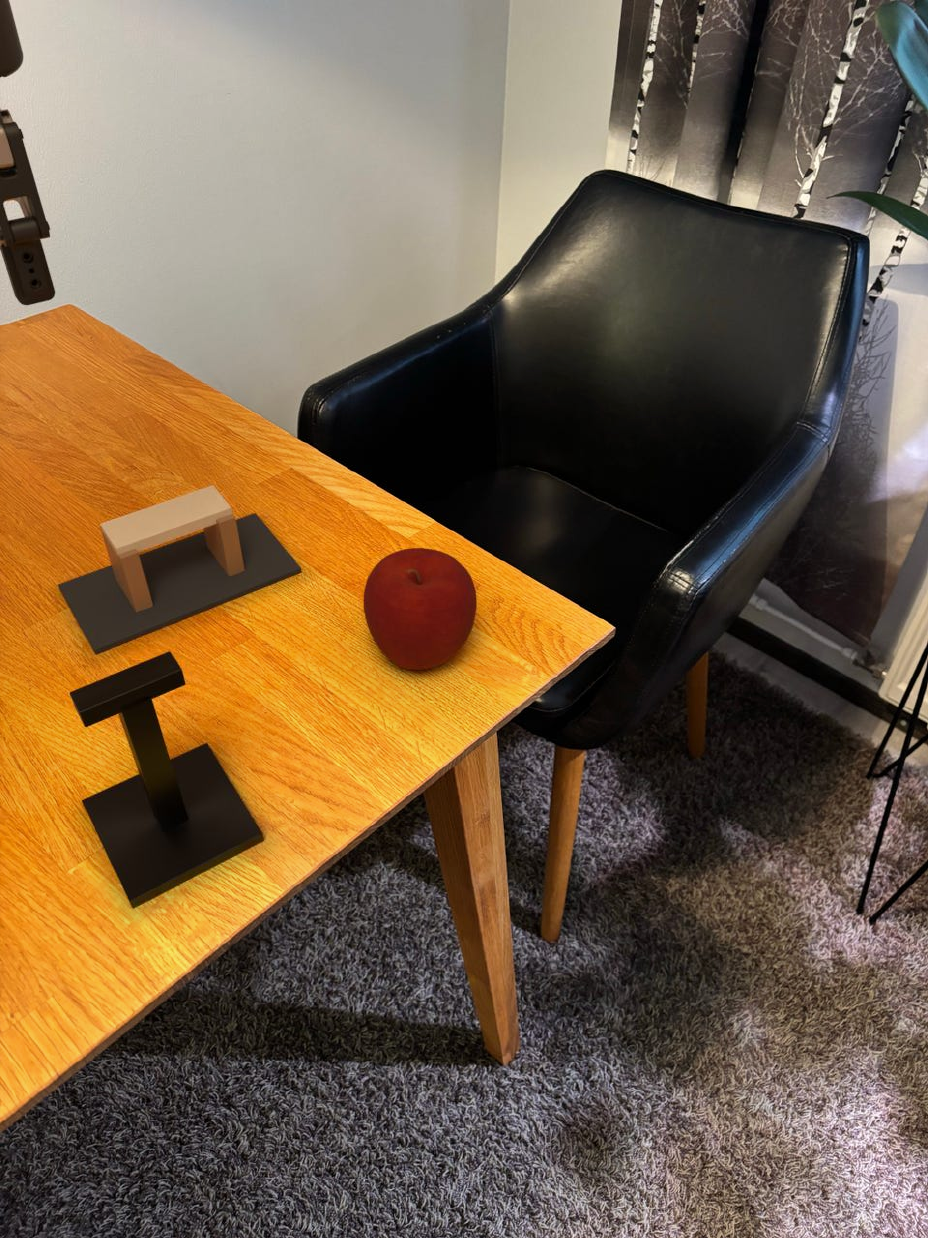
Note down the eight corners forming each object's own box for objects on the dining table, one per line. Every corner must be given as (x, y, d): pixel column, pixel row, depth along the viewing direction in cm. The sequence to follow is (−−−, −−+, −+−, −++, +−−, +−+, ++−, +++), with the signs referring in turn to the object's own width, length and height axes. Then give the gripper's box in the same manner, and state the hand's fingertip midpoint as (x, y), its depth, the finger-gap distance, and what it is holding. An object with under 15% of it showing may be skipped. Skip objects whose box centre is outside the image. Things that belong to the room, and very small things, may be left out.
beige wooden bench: (136, 613, 87) (118, 552, 82) (116, 580, 90) (97, 519, 85) (245, 571, 91) (234, 510, 86) (222, 541, 94) (210, 481, 89)
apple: (426, 599, 90) (426, 514, 83) (497, 655, 85) (503, 570, 78) (345, 647, 85) (337, 561, 78) (415, 709, 81) (414, 624, 74)
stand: (132, 909, 67) (72, 769, 56) (84, 807, 73) (21, 663, 62) (264, 840, 71) (233, 698, 60) (209, 750, 77) (171, 604, 66)
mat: (95, 654, 84) (93, 650, 84) (59, 589, 90) (57, 584, 89) (301, 572, 92) (301, 567, 92) (256, 517, 98) (255, 512, 98)
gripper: (-183, -52, 52) (-74, 245, 63) (-129, 7, 44) (-14, 336, 55) (-38, -64, 55) (42, 221, 67) (38, -11, 47) (114, 304, 58)
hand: (16, 273), depth 61 cm, fingers open, 8 cm apart
